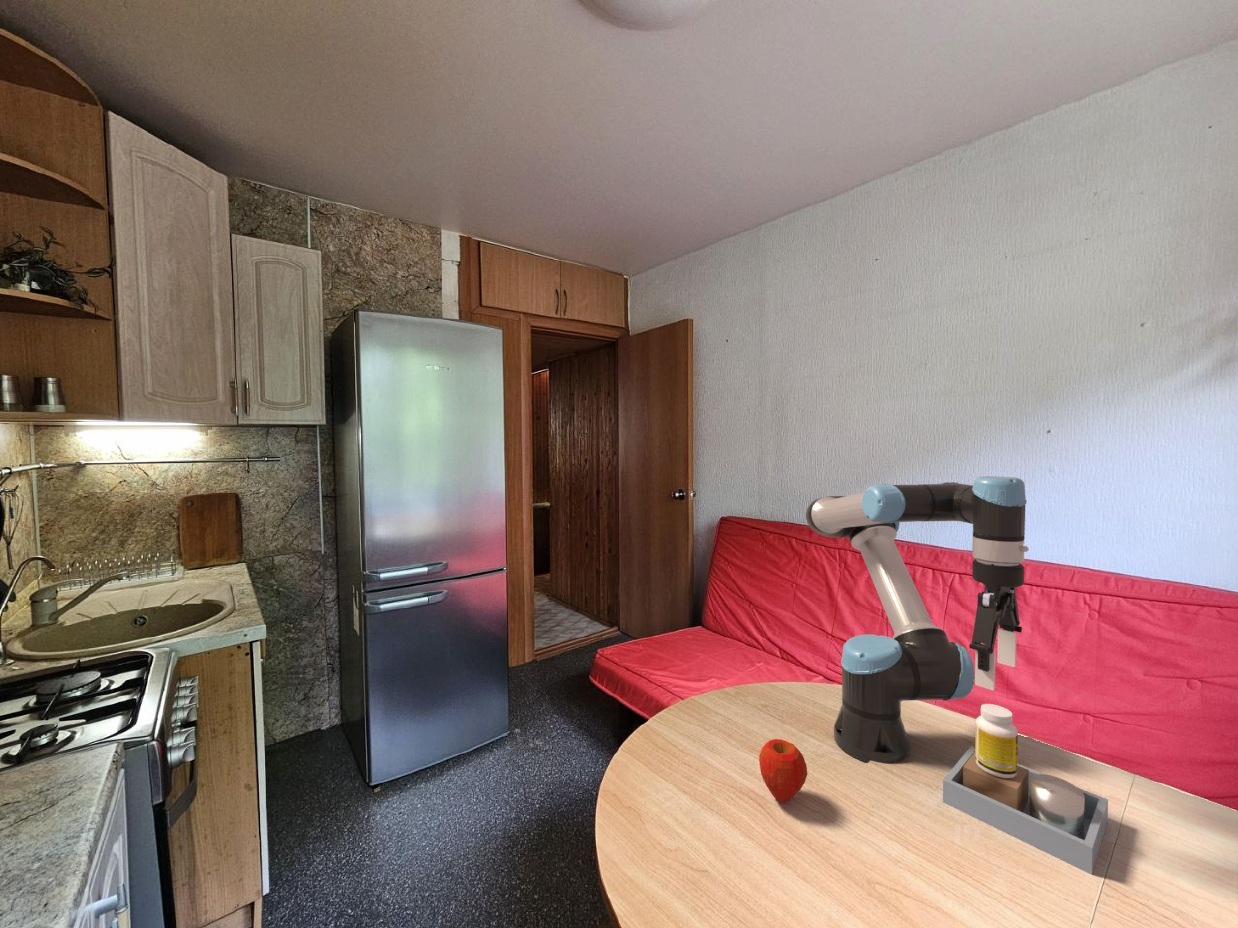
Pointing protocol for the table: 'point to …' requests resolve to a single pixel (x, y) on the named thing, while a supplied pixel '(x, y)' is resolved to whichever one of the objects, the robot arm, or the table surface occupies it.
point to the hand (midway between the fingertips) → (996, 675)
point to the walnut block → (998, 785)
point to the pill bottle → (996, 741)
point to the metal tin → (1057, 804)
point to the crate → (1031, 820)
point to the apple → (782, 769)
